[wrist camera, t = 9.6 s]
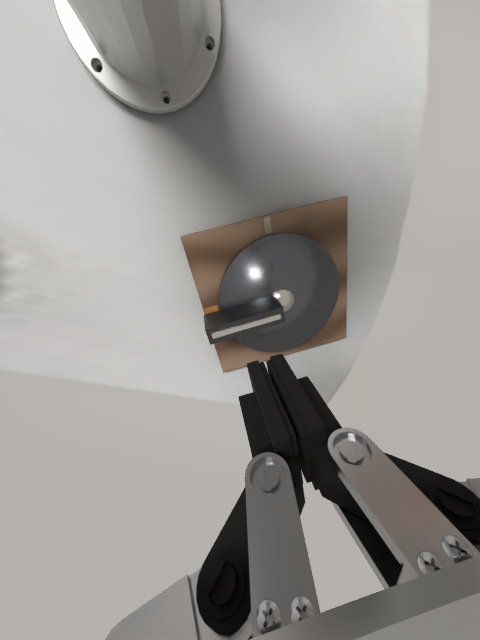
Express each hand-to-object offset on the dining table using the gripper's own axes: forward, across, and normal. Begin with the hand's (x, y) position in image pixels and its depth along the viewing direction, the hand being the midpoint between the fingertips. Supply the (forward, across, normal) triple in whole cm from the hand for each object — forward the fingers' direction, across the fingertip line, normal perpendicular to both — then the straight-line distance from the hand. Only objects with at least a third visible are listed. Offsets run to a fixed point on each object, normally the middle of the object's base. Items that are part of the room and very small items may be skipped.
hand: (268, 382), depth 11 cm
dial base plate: (+21, -6, +5) cm, 22 cm away
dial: (+20, -5, +5) cm, 21 cm away
